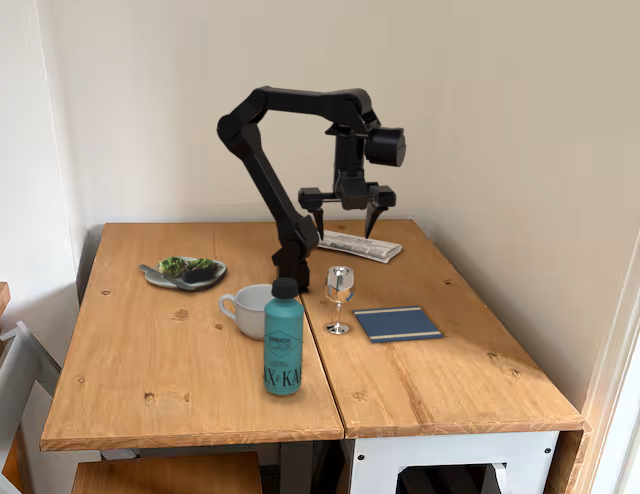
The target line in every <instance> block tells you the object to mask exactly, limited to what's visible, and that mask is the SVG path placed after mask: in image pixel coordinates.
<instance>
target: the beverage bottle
mask: <svg viewBox="0 0 640 494" xmlns="http://www.w3.org/2000/svg"><path fill="white" fill-rule="evenodd" d="M271 285H272V290H271V294H272V296H273V297H275V298H274V299H272V300H271V301H269V302H268V303H267V304H266V305H265V307H264V312H265V320H264V336H263V339H264V340H263V344H262V352H263V354H262V357H263V374H262V380H263V386H264V388H265V390H266V391H268V392H269V393H271V394H274V395H278V396H280V395H281V396H285V395H291V394H295V393H296V392H298V391H299V390H300V388H301V386H302V383H303V382H302V381H303V378H302V375H303V368H304V366H303V362H304V361H303V360H304V358H303V352H304V349H303V347H304V318H305V317H304V316H305V307H304V305H303V304H302V303H301V302H300V301H299V300H297V299H296V298H297V297H298V296H299V293H298V283H297V281H296V280H294V279H292V278H278V279H276V278H275V279H273V280H272V282H271Z"/></svg>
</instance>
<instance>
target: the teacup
mask: <svg viewBox="0 0 640 494" xmlns="http://www.w3.org/2000/svg"><path fill="white" fill-rule="evenodd" d="M271 290H272V284H270V283H269V284H268V283H259V284H257V283H256V284H251V285H247V286H244V287H242V288H241V289H239V290H237V292H236V293H235V295H234V294H231V293H223V294H222V295H221V296H220V297H219V298H218V303H217V305H218V309H219V311H220V312H221V313H222V314H223V315H224V316H226V317H227V318H229V319H231V320H232V321H233V323H235V324H237V327H238V329H239V331H241V332H242V333H243V334H244V335H246V336H247V337H249V338H250V339H253V340H256V341H264V339H263V336H264V320H265V312H264V307H265V305H266V304H267V303H268V302H269V301H271V300H272V299H274V298H275V297H273V296H272V294H271ZM227 300H228V301H230V302H231V303H232V305H233V307H234V309H235V313H234V312H232V311H231V310H229V309H227V307H226V306H225V304H224V302H225V301H227Z"/></svg>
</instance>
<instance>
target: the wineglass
mask: <svg viewBox="0 0 640 494" xmlns="http://www.w3.org/2000/svg"><path fill="white" fill-rule="evenodd" d="M355 291H356V277H355V272H354V269H353V268H352V267H349V266H344V265H335V266H331V267H330V268H328V270H327V274H326V276H325V282H324V293H325V296H326V298H327V299H328V300H329V301H331V302H332V303H335V304H336V306H335V309H336V322H333V323H329V324H328V325H326V327H325V329H326V331H328V332H329V333H331V334H337V335H341V334H345V333H348V332H349V330H350V328H349V326H348V325H346V324H345V323H341V322H340V315H341V311H342V304H345V303H347V302H350V301H351V300H352V299H353V298H354V295H355Z"/></svg>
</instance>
